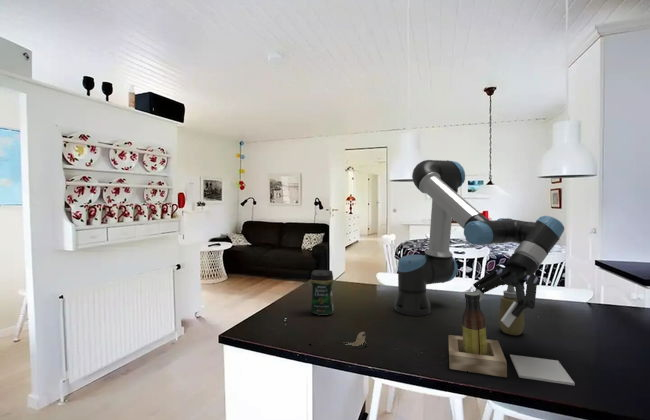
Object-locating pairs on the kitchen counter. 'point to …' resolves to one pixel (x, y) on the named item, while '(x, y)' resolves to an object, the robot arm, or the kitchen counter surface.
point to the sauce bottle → (474, 326)
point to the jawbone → (358, 340)
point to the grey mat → (541, 369)
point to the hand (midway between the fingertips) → (485, 315)
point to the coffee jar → (322, 292)
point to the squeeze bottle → (504, 306)
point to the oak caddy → (477, 358)
